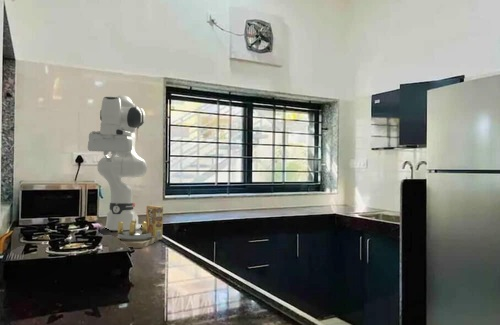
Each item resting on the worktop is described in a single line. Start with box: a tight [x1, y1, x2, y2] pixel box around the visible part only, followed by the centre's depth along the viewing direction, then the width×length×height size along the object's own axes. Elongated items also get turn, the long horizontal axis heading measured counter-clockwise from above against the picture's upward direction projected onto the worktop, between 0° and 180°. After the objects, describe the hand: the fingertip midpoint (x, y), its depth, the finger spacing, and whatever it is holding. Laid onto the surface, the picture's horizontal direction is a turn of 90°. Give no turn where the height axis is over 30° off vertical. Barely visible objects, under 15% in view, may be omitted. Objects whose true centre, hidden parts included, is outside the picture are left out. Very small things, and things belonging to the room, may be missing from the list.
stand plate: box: [122, 236, 159, 249], centre depth 169 cm, size 18×17×2 cm
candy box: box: [145, 205, 164, 241], centre depth 183 cm, size 9×4×15 cm, turn 44°
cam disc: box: [117, 220, 151, 241], centre depth 169 cm, size 14×14×7 cm
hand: (109, 161), depth 177 cm, fingers closed
